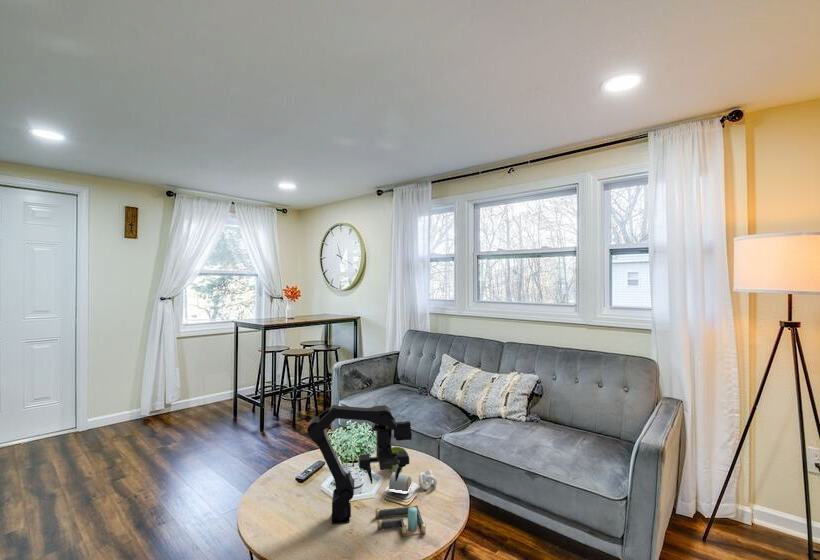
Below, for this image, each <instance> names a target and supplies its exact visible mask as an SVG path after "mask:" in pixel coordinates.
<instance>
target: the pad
mask: <svg viewBox="0 0 820 560" xmlns="http://www.w3.org/2000/svg"><path fill="white" fill-rule="evenodd" d="M404 525H405V524H404ZM405 526H406V527H407V536H413V535H420V534H421V528H420V525H419V523H417V530H416V531H415V532H410V531H408V524H407V525H405ZM421 535H422V534H421Z"/></svg>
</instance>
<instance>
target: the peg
mask: <svg viewBox="0 0 820 560" xmlns="http://www.w3.org/2000/svg"><path fill="white" fill-rule="evenodd" d="M409 507H410V506H409ZM417 524H418V520H417V508H415V507H410V508H408V515H407V525H408V531H410V532H415V531H416V530H417Z"/></svg>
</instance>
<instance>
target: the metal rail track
mask: <svg viewBox="0 0 820 560" xmlns="http://www.w3.org/2000/svg"><path fill="white" fill-rule="evenodd" d="M410 507H415V508H417V524H418V526H419V529H420V532H421V535H422V536H425V535H426V533H427V532H426V531H427V530H426V529H427V528H426V526H427V525H426V523H424V521H423V517H422V515H421V513H420V509H419V507H418V505H413V506H404V507H403V506H402V507H394V508H385V509H380V508H379V507H377V508H375V512H374V514H375V516H374V517H375V519H377V523H376V524H377V525H376V526H377V529H376V530H377V531H379V532H380V531H383V530H390V529H397V528H401V537H402V538H407V536H408V535H407V527H406V526H405V523H404V522H405V521H404V519H403V518H398V519H390V520H383V519H384V518H389V517H399V516H408V508H410ZM382 518H383V519H382Z"/></svg>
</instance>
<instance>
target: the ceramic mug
mask: <svg viewBox="0 0 820 560" xmlns="http://www.w3.org/2000/svg"><path fill="white" fill-rule="evenodd" d="M389 477H390V478H389V482H388V483H389V484H388V490H389V489H395V490H402V491H408V489H409V487H410V485H411V486H412V477H411V476H410V475H408V474H404V473H401V472H400V473H399V476H398V479H397V481H395V472H391V475H390V476H389Z"/></svg>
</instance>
